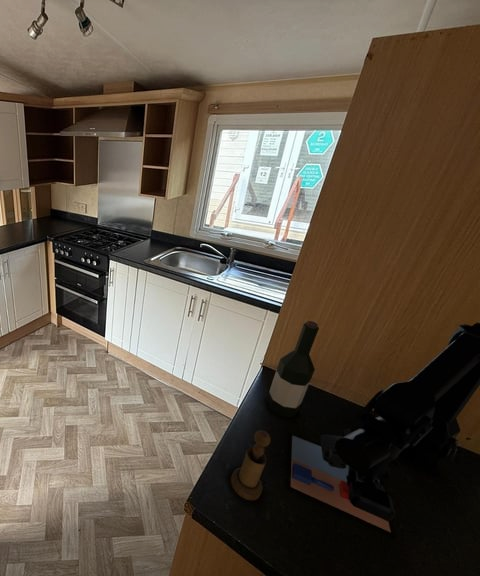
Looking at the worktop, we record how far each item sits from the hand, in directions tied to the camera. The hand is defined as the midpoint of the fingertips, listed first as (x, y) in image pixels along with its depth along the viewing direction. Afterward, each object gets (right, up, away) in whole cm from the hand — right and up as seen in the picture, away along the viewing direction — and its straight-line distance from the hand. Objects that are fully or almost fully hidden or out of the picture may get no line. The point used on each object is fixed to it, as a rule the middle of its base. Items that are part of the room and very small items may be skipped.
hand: (350, 493), depth 69 cm
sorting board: (+1, 0, +6) cm, 6 cm away
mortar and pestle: (-22, -1, +4) cm, 22 cm away
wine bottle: (-1, +9, +25) cm, 27 cm away
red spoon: (+2, -1, -1) cm, 2 cm away
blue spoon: (-6, 0, +4) cm, 7 cm away
